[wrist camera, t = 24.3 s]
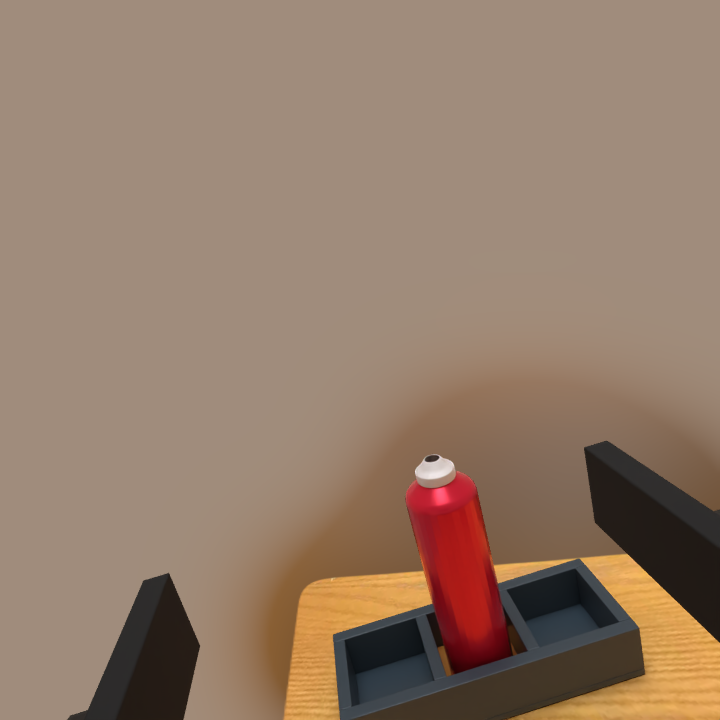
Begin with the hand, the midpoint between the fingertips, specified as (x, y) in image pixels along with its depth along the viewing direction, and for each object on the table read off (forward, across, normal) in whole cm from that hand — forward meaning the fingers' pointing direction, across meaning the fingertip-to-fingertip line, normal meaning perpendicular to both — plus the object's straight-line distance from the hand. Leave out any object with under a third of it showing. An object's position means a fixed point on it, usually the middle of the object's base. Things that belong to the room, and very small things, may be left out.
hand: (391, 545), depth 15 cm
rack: (+20, +5, -29) cm, 36 cm away
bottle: (+20, +5, -29) cm, 35 cm away
